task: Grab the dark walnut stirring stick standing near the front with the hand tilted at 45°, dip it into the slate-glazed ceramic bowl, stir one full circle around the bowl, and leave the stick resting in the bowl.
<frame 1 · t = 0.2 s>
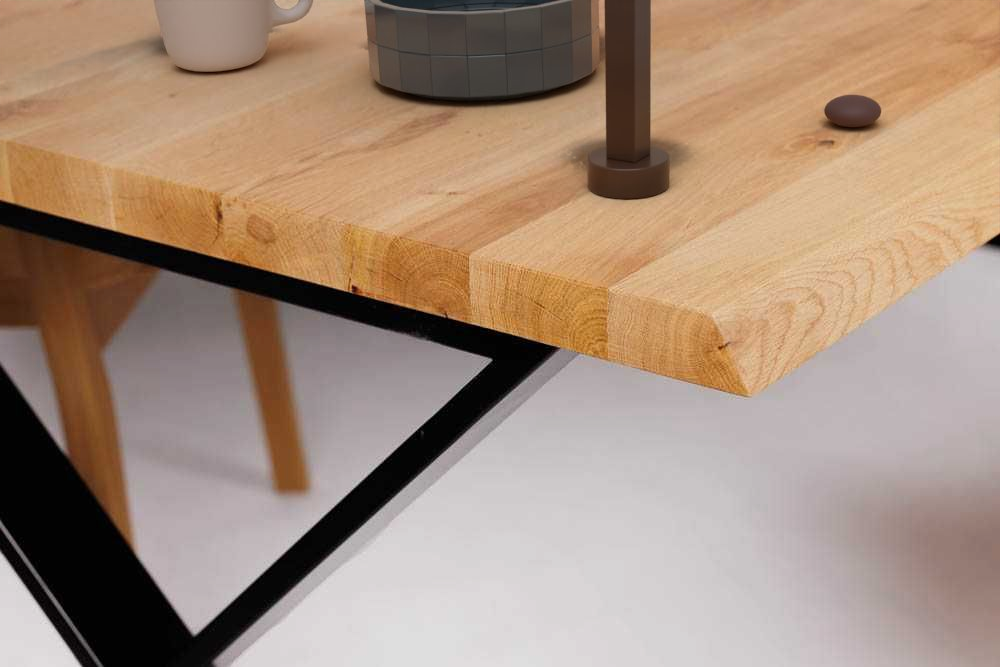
cup: (241, 64, 96), on the table
chocolate truffle: (851, 128, 78), on the table
stir stick: (628, 185, 71), on the table
bowl: (485, 75, 90), on the table
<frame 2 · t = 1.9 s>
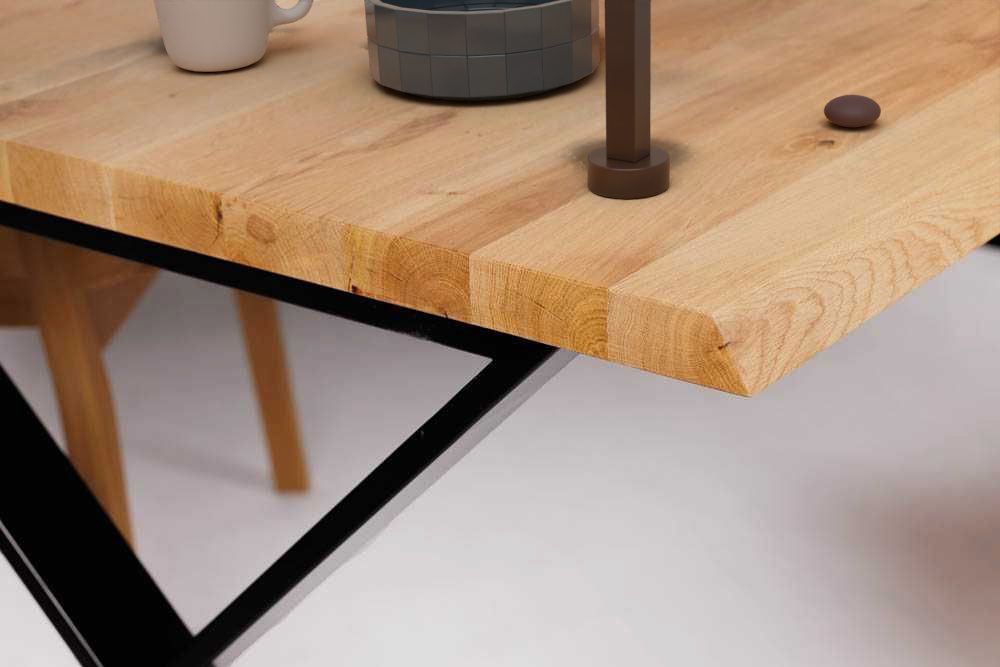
nothing on the table moved.
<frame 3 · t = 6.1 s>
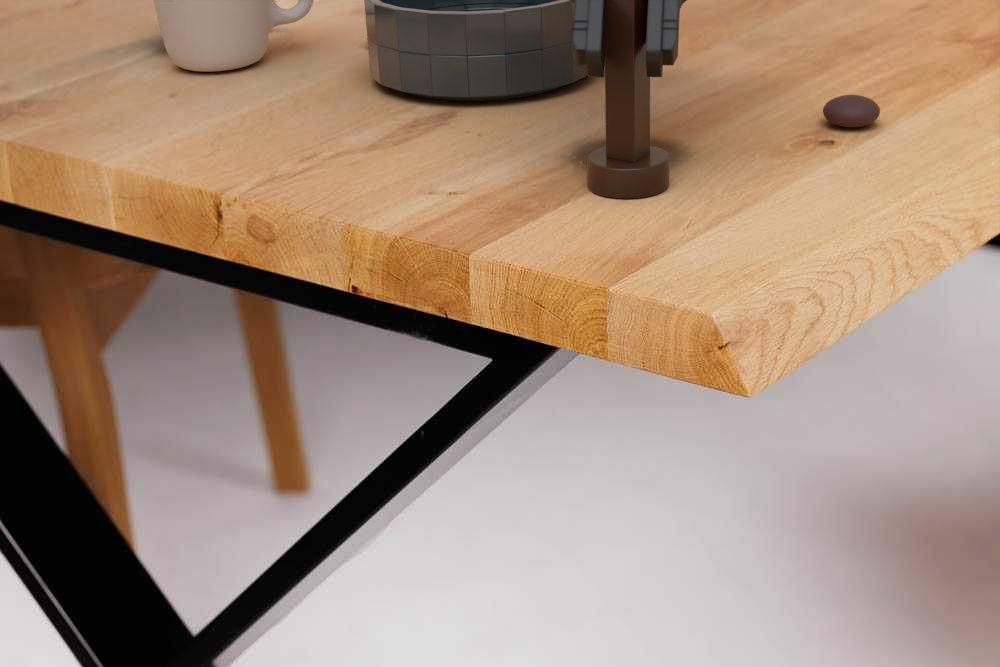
hand: (624, 67, 66), 6 cm above the table, tool tilted 45°, fingers closed on stir stick, 2 cm apart
stir stick: (628, 185, 71), on the table, touching gripper
everything else where it was.
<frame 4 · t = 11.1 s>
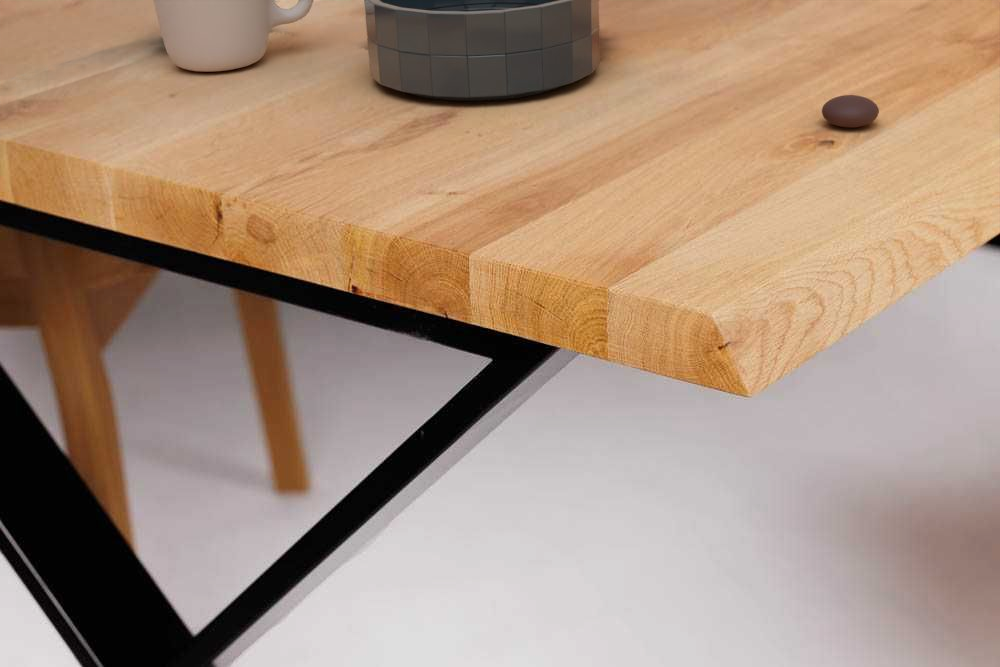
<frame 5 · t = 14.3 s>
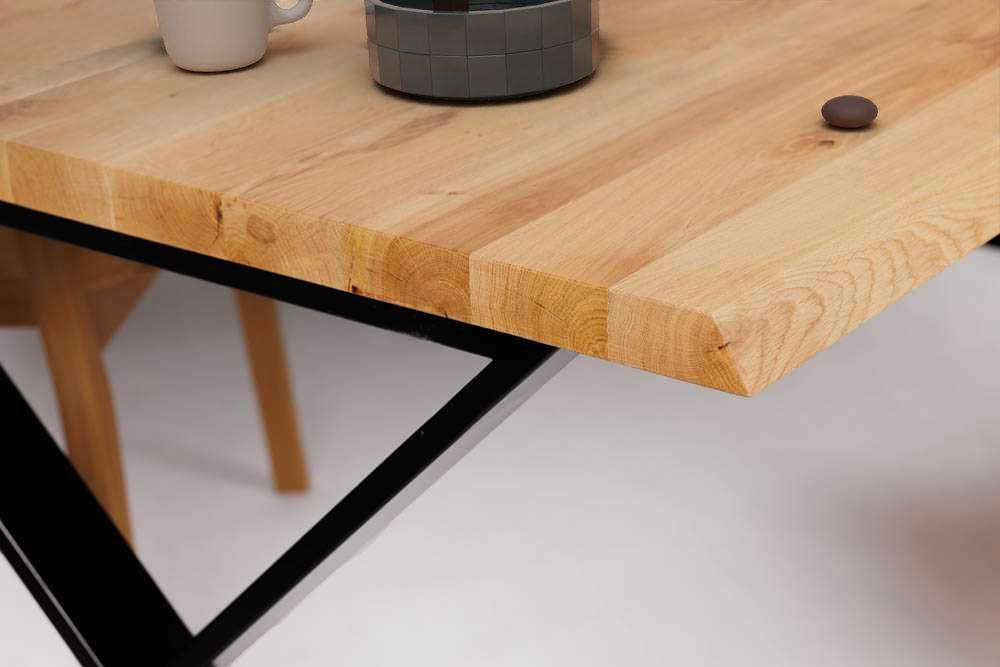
stir stick: (453, 54, 89), point 2 cm above the table, touching gripper
everything else where it was.
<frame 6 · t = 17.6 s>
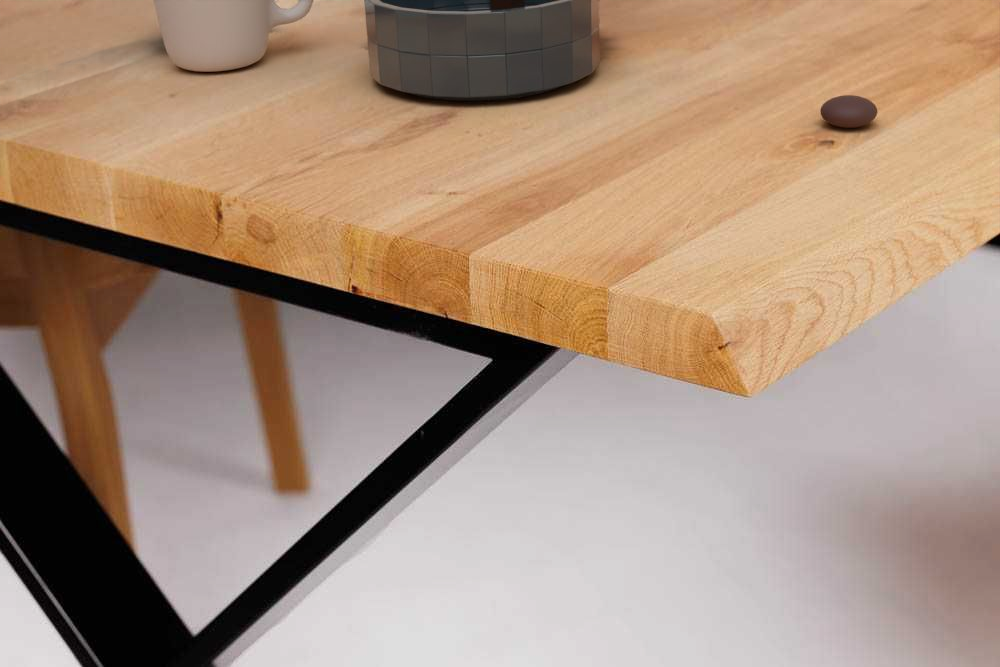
stir stick: (509, 54, 92), point 1 cm above the table, touching bowl
everything else where it was.
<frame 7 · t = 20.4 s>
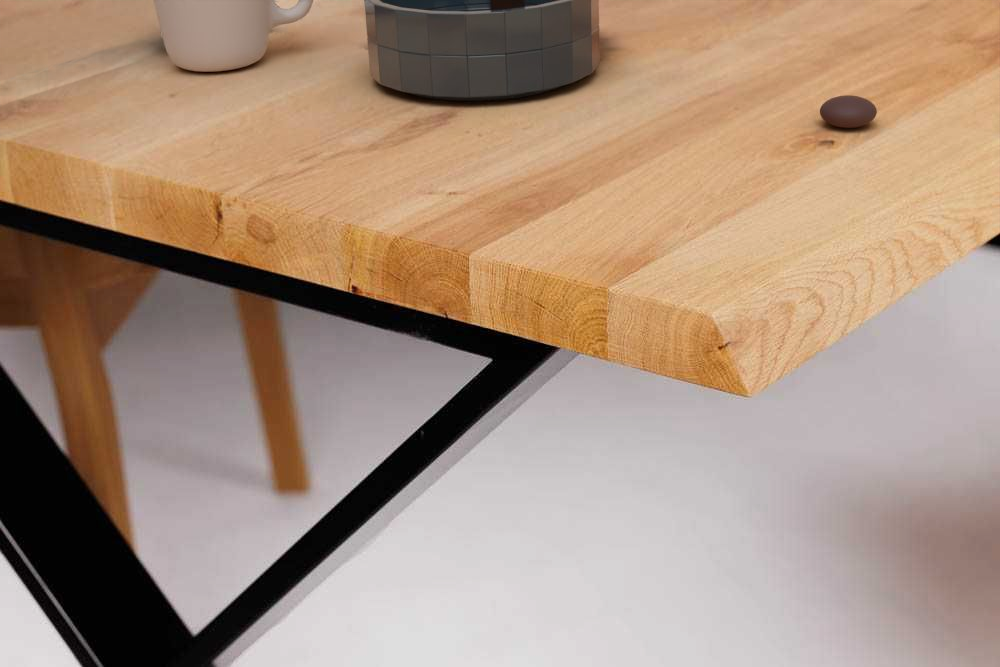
nothing on the table moved.
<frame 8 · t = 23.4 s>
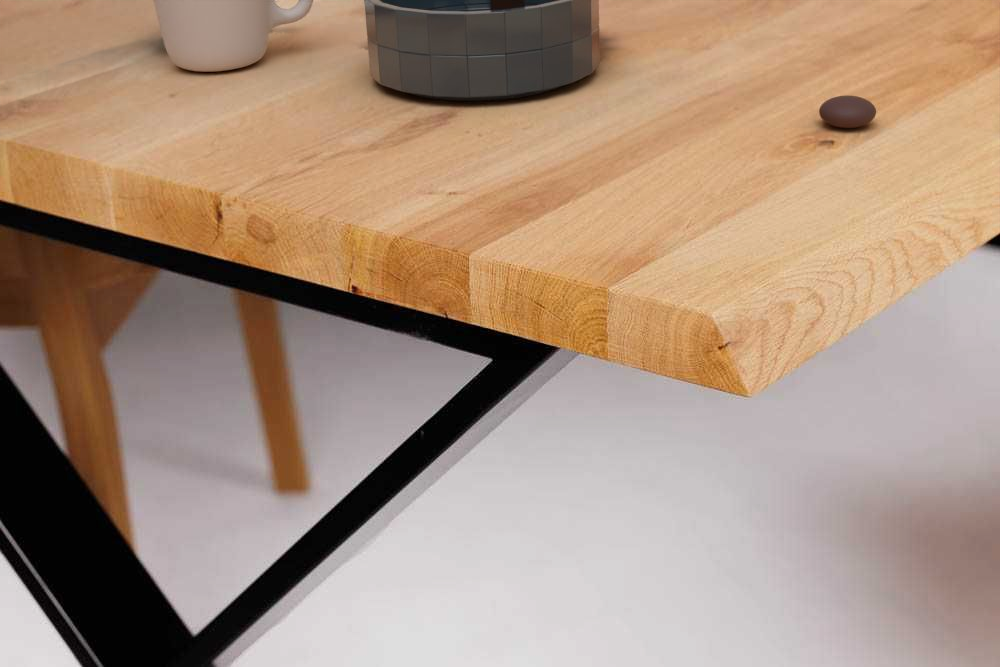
nothing on the table moved.
at the end: stir stick inside the target area in the bowl (2.9 cm from its centre), point 0.6 cm above the bowl's base; stir stick moved 24.7 cm from its start; the gripper is holding nothing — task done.
